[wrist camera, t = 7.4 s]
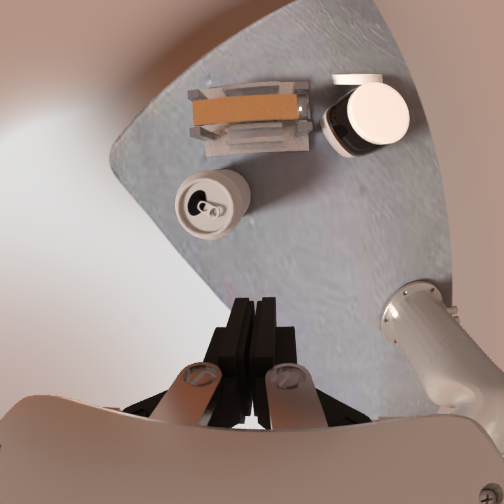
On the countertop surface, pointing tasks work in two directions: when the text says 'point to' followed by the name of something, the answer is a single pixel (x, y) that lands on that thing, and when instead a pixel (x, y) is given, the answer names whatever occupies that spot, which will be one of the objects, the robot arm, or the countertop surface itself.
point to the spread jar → (364, 116)
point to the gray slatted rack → (253, 123)
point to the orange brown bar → (251, 109)
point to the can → (212, 203)
